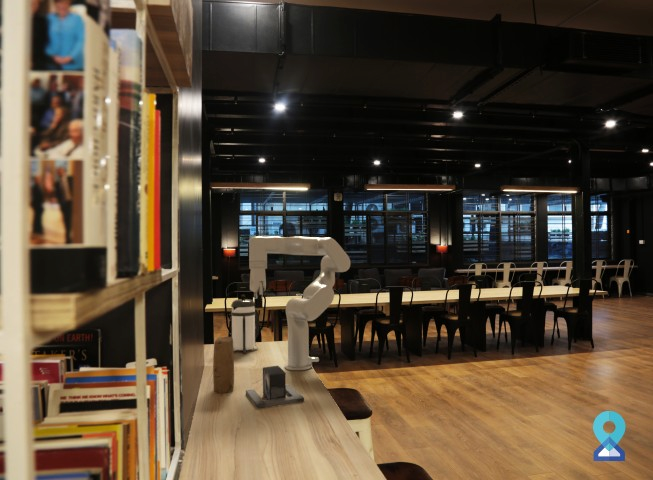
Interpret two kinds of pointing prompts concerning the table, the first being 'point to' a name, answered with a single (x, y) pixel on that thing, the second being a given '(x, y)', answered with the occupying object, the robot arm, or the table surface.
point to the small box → (274, 383)
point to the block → (223, 365)
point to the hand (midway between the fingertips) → (258, 307)
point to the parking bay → (259, 403)
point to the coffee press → (244, 324)
